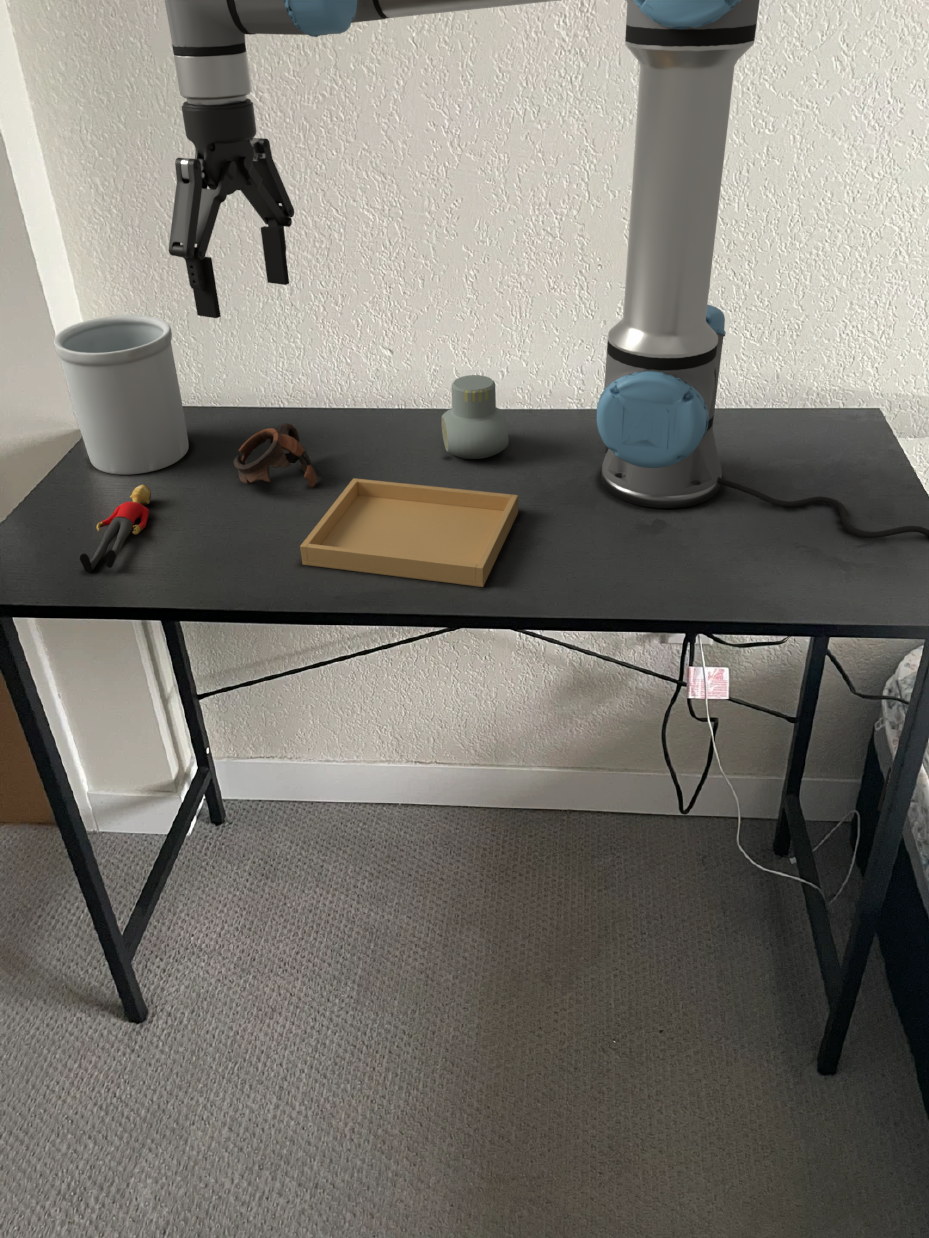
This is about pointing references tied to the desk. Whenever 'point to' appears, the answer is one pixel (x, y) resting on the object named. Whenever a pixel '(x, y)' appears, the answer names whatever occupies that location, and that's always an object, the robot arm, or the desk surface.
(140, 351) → the utensil holder
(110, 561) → the person figure
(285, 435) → the broken clay pot
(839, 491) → the desk surface
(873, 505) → the desk surface
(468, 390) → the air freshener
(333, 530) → the tray
